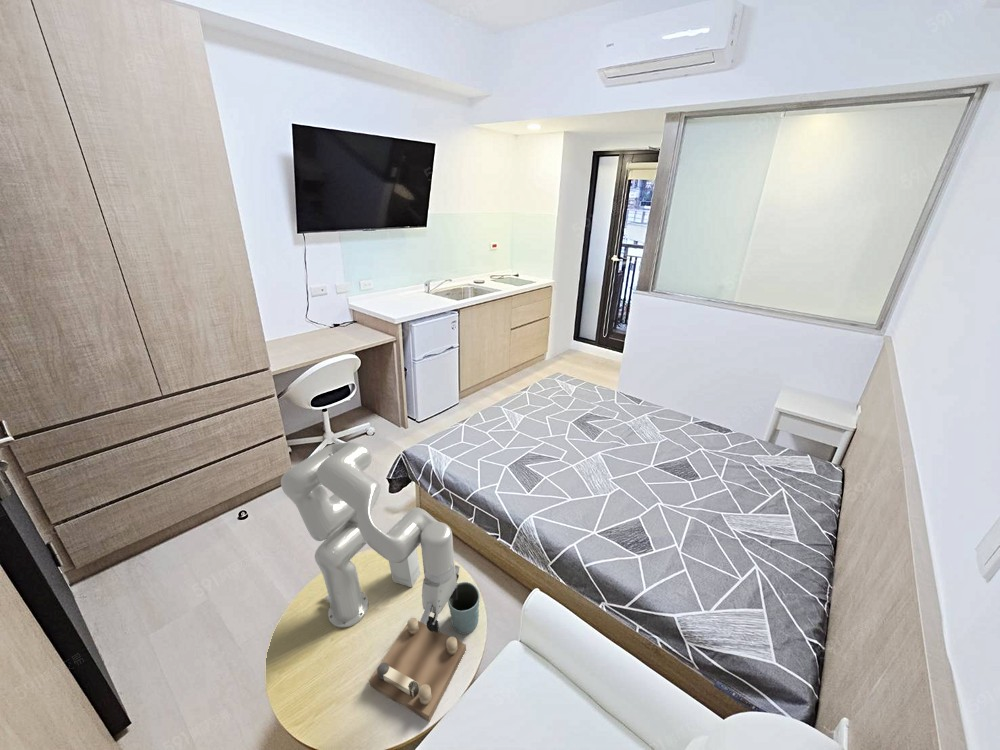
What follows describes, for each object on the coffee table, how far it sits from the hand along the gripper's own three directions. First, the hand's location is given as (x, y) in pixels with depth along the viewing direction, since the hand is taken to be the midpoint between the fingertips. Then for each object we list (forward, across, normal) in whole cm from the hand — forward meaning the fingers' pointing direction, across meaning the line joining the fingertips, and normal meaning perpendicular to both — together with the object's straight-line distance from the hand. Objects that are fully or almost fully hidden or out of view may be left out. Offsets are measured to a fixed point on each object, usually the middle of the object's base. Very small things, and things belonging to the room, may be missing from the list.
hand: (442, 612), depth 107 cm
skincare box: (+26, -21, -30) cm, 44 cm away
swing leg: (+23, +10, -10) cm, 27 cm away
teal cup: (+26, -15, -3) cm, 30 cm away
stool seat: (+26, +3, -8) cm, 27 cm away
